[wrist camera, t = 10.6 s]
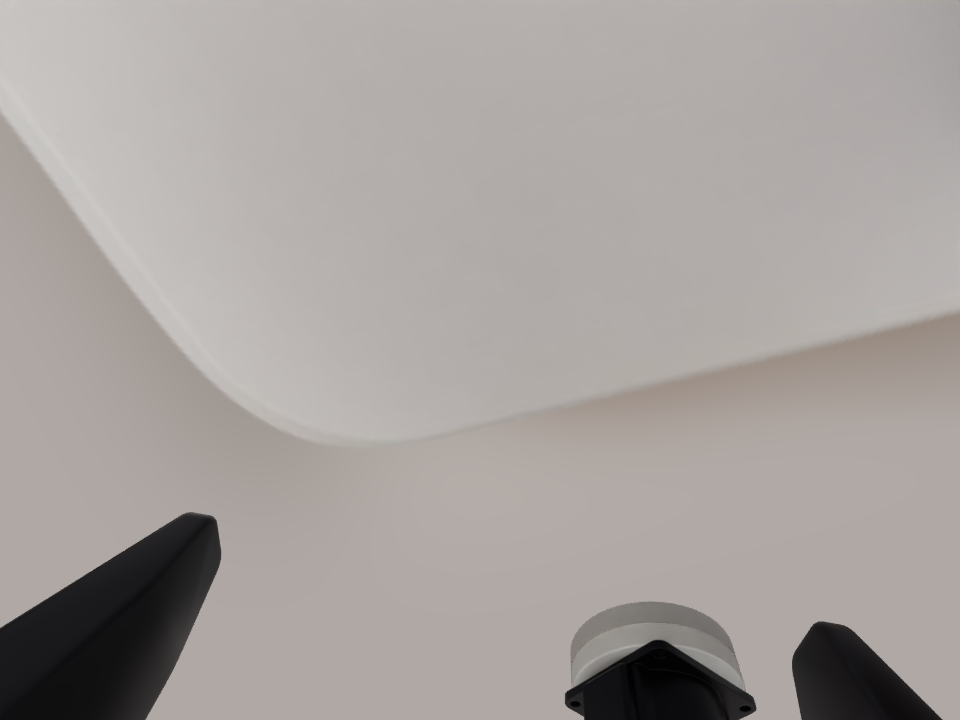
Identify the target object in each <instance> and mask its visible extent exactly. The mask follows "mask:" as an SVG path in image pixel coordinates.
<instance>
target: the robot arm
mask: <svg viewBox="0 0 960 720" xmlns="http://www.w3.org/2000/svg"><path fill="white" fill-rule="evenodd" d="M220 560H221V547H220V540H219V533H218V526H217V521H216V519H215V518H214V517H213V516H210V515H204V514H199V513H193V512H189V513H185V514H183V515H181V516H179V517H178V518H176V519H174V520H173V521H171V522H170V523H168V524H166V525H165V526H163V527H162V528H160V529H158V530H157V531H155V532H153V533H152V534H150V535H149V536H147V537H145V538H144V539H143V540H141V541H139V542H137V543H136V544H134V545H133V546H131V547H129V548H128V549H126V550H125V551H123V552H121V553H120V554H118V555H117V556H115V557H113V558H112V559H110V560H109V561H107V562H105V563H104V564H102V565H101V566H99V567H97V568H96V569H94V570H93V571H91V572H89V573H88V574H86V575H85V576H83V577H82V578H80V579H78V580H77V581H75V582H73V583H72V584H70V585H68V586H67V587H65V588H64V589H62V590H60V591H59V592H57V593H56V594H54V595H52V596H51V597H49V598H48V599H46V600H44V601H43V602H41V603H40V604H38V605H36V606H35V607H33V608H32V609H30V610H28V611H27V612H25V613H24V614H22V615H20V616H19V617H17V618H15V619H14V620H13V621H11V622H9V623H8V624H6V625H4V626H3V627H1V628H0V720H145V719H146V718H147V716H148V714H149V712H150V711H151V709H152V707H153V705H154V704H155V702H156V700H157V698H158V696H159V695H160V693H161V691H162V689H163V688H164V686H165V684H166V682H167V680H168V678H169V677H170V675H171V673H172V671H173V669H174V667H175V665H176V663H177V661H178V659H179V656H180V654H181V652H182V650H183V647H184V645H185V643H186V641H187V639H188V636H189V634H190V632H191V629H192V627H193V625H194V623H195V620H196V618H197V616H198V614H199V611H200V609H201V607H202V604H203V602H204V600H205V598H206V596H207V593H208V591H209V589H210V586H211V584H212V582H213V579H214V577H215V575H216V573H217V570H218V568H219V565H220ZM792 671H793V676H794V682H795V687H796V692H797V697H798V703H799V708H800V713H801V718H802V720H942V719H941V718H940V717H939V716H938V715H937V714H936V713H935V712H934V711H933V710H932V709H931V708H930V707H929V706H928V705H927V704H926V703H925V702H924V701H923V700H922V699H921V698H920V697H919V696H918V695H917V694H916V693H915V692H914V691H913V690H912V689H911V688H910V687H909V686H908V685H907V684H906V683H905V682H904V681H903V680H902V679H901V678H900V677H899V676H898V675H897V674H896V673H895V672H894V671H893V670H892V669H891V668H890V667H889V666H888V665H887V664H886V663H885V662H884V661H883V660H882V659H881V658H880V657H879V656H878V655H877V654H876V653H875V652H874V651H873V650H872V649H871V648H870V647H869V646H868V645H867V644H866V643H865V642H863V640H862V639H861V638H860V637H859V636H857V634H856V633H855V632H853V631H852V630H851V629H849V628H848V627H846V626H844V625H839V624H834V623H828V622H817V623H815V624H813V626H812V627H811V628H810V630H809V631H808V633H807V634H806V636H805V637H804V639H803V640H802V642H801V643H800V645H799V646H798V648H797V649H796V651H795V653H794V655H793V659H792ZM565 704H566V706H567V707H568V708H570V709H571V710H573V711H575V712H577V713H578V714H580V715H582V716H584V720H739V719H741V718H743V717H745V716H748V715H750V714H752V713H753V712H754V711H756V705H755V701H754V698H753V697H752V696H751V695H749V694H748V693H746V692H745V691H743V690H742V689H740V688H739V687H737V686H735V685H734V684H732V683H731V682H729V681H728V680H726V679H724V678H723V677H721V676H720V675H718V674H717V673H715V672H713V671H712V670H710V669H709V668H707V667H706V666H704V665H703V664H701V663H699V662H698V661H696V660H695V659H693V658H692V657H690V656H688V655H687V654H685V653H684V652H682V651H681V650H679V649H677V648H676V647H674V646H673V645H671V644H670V643H668V642H666V641H664V640H653V641H650V642H649V643H647V644H645V645H644V646H642V647H640V648H639V649H637V650H635V651H634V652H632V653H630V654H629V655H627V656H625V657H624V658H622V659H620V660H619V661H617V662H615V663H614V664H612V665H610V666H609V667H607V668H605V669H604V670H602V671H600V672H599V673H597V674H595V675H594V676H592V677H590V678H589V679H587V680H585V681H584V682H582V683H580V684H579V685H577V686H575V687H574V688H572V689H570V690H569V691H567V692H566V693H565Z"/></svg>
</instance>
